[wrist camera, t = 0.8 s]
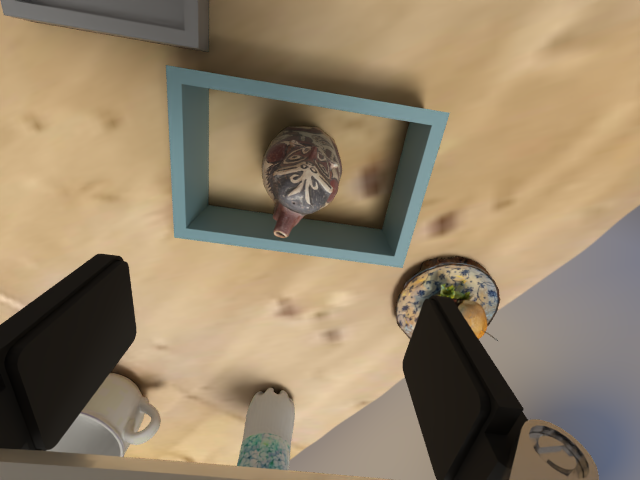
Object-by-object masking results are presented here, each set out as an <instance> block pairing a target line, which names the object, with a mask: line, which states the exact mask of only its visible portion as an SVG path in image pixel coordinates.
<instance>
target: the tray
mask: <svg viewBox="0 0 640 480" xmlns="http://www.w3.org/2000/svg"><path fill="white" fill-rule="evenodd" d="M1 4H2V9H3V13H4V15H7V16H11V17H15V18H19V19H23V20H27V21H31V22H37V23H43V24H48V25H54V26H60V27H66V28H72V29H77V30H83V31H89V32H95V33H100V34H106V35H112V36H118V37H124V38H129V39H135V40H141V41H147V42H152V43H158V44H164V45H170V46H176V47H181V48H187V49H193V50H199V51H204V52H209V0H1Z"/></svg>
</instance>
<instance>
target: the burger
mask: <svg viewBox="0 0 640 480" xmlns="http://www.w3.org/2000/svg"><path fill="white" fill-rule="evenodd" d="M457 257H458V258H457ZM444 259H445V258H444ZM444 259H442V258H441V259H440V260H438V258H436V259H433V260H432V259H431V260H429V261H428V260H427V261H426V262H423V263H422V267H421V271H419V272H418V273H417V274H415V275H414V276H413V277H411V278H410V279H409V280H408V281H407V282H406V283H405V286H404V288H403V290H402V292H401V294H400V295H399V297H398V300H397V304H396V319H397V324H398V326H399V327H400V328H401V329H402V330H403V332H404V333H405V334H406V335H407V336H408V338H409V339H411V336H412V333H413V330H414V328H415V325H416V322H417V319H418V316H419V313H420V310H421V308H422V305H423V302H424V300H425V299H429V298H430V297H431V296H432V295H436V296H444V297H450V298H452V299H453V301H454V302H455V304H456V306H457V307H458V309H459V310H460V312H461V313H462V315H463V316H464V318H465V319H466V321H467V322H468V324H469V326H470V327H471V329H472V330H473V332H474V333H475V335H476V336H477V338H478V339H479V338H481V337H482V336H483V335H484V333H486V332H485V331H486V329H487V326H488V325H489V324H490V322H491V321H492V319H493V317H494V316H495V314H496V312H497V310H498V306H499V302H500V297H499V289H498V287H497V285H496V283H495V281H494V280H493V279H492V277H491V276H490V275H489V273H488V272H487V271H486V269H485V268H484V267H482V266H481V265H480V264H478V263H477V262H475V261H472V260H470V259H468V258H463V257H459V256H455V257H454V258H452V257H451V258H449V257H448V259H445V260H444ZM487 334H489V333H487ZM489 335H490V334H489ZM490 336H491V335H490ZM492 337H493V336H492ZM493 338H494V337H493ZM497 341H498V340H497Z"/></svg>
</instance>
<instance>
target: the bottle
mask: <svg viewBox="0 0 640 480" xmlns="http://www.w3.org/2000/svg"><path fill="white" fill-rule="evenodd" d="M294 416H295V407H294V403H293V400H292V399H291V398H288V394H287V393H286V392H285V391H284V390H281V391H280V393H279V394H276V393H274V389H273V388H268V389H267V390H266V392H265V393H263V392H262V391H259V392H257V393H256V394H255V395H254V397H253V399H252V401H251V403H250V405H249V408H248V411H247V415H246V422H245V428H244V436H243V441H242V445H241V450H240V454H239V459H238V464H237V466H242V467H254V468H266V469H278V470H289V461H290V447H291V439H292V433H293V426H294Z"/></svg>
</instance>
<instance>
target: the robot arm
mask: <svg viewBox="0 0 640 480" xmlns="http://www.w3.org/2000/svg"><path fill="white" fill-rule="evenodd" d="M135 336H136V323H135V314H134V306H133V298H132V290H131V282H130V274H129V266H128V263H127V262H125V261H123V259H122V257H120V256H115V255H107V254H97V255H95V256H94V257H93V258H91V259H90V260H88V261H87V262H86V263H84V264H83V265H82V266H80V267H79V268H78V269H76V270H75V271H73V272H72V273H71V274H69V275H68V276H67V277H65V278H64V279H62V280H61V281H60V282H58V283H57V284H56V285H54V286H53V287H52V288H50V289H49V290H47V291H46V292H45V293H43V294H42V295H41V296H39V297H38V298H36V299H35V300H34V301H32V302H31V303H30V304H28V305H27V306H26V307H24V308H23V309H21V310H20V311H19V312H17V313H16V314H15V315H13V316H12V317H10V318H9V319H8V320H6V321H5V322H4V323H2V324H1V325H0V480H390V479H380V478H369V477H358V476H347V475H336V474H324V473H312V472H301V471H290V470H278V469H266V468H254V467H242V466H230V465H218V464H206V463H194V462H182V461H170V460H157V459H144V458H131V457H118V456H105V455H92V454H79V453H67V452H54V451H46V450H50V449H52V448H54V447H55V446H56V445H57V444H58V442H59V441H60V440H61V438H62V437H63V436H64V434H65V433H66V432H67V430H68V429H69V428H70V426H71V425H72V424H73V422H74V421H75V420H76V418H77V417H78V416H79V414H80V413H81V412H82V410H83V409H84V407H85V406H86V405H87V403H88V402H89V401H90V399H91V398H92V397H93V395H94V394H95V393H96V391H97V390H98V389H99V387H100V386H101V385H102V383H103V382H104V381H105V379H106V378H107V376H108V375H109V374H110V372H111V371H112V370H113V368H114V367H115V366H116V364H117V363H118V362H119V360H120V359H121V358H122V356H123V355H124V354H125V352H126V351H127V350H128V348H129V347H130V346H131V344H132V343H133V341H134V339H135ZM403 372H404V375H405V379H406V382H407V385H408V388H409V391H410V395H411V398H412V401H413V405H414V408H415V411H416V415H417V418H418V421H419V424H420V428H421V431H422V434H423V437H424V441H425V444H426V447H427V451H428V454H429V457H430V461H431V464H432V467H433V470H434V473H435V476H436V479H437V480H599V475H598V471H597V467H596V465H595V463H594V461H593V459H592V457H591V455H590V454H589V453H588V452H587V451H586V449H585V448H584V447H583V446H582V445H581V444H580V443H579V442H578V441H577V440H576V439H575V438H574V437H573V436H571V435H570V434H568V433H567V432H566V431H564V430H563V429H561V428H560V427H558V426H556V425H554V424H552V423H549V422H546V421H543V420H529V421H528V419H527V418H526V417H525V415H524V413H523V412H522V411H523V407H522V406H521V404H520V403H519V401H518V400H517V398H516V396H515V395H514V393H513V392H512V390H511V389H510V387H509V386H508V384H507V383H506V381H505V380H504V378H503V377H502V375H501V373H500V372H499V370H498V369H497V367H496V366H495V364H494V363H493V361H492V360H491V358H490V356H489V355H488V354H487V352H486V350H485V349H484V347H483V346H482V344H481V343H480V341H479V339H478V338H477V336H476V335H475V333H474V332H473V330H472V329H471V327H470V326H469V324H468V322H467V321H466V319H465V318H464V316H463V315H462V313H461V312H460V310H459V309H458V307H457V306H456V304H455V302H454V301H453V299H452V298H450V297H444V296H436V295H432V296H431V297H430V298H429V299H425V300H424V302H423V305H422V308H421V310H420V313H419V316H418V319H417V322H416V325H415V328H414V330H413V333H412V336H411V339H410V342H409V345H408V348H407V350H406V353H405V356H404V359H403ZM391 480H392V479H391Z"/></svg>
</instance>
